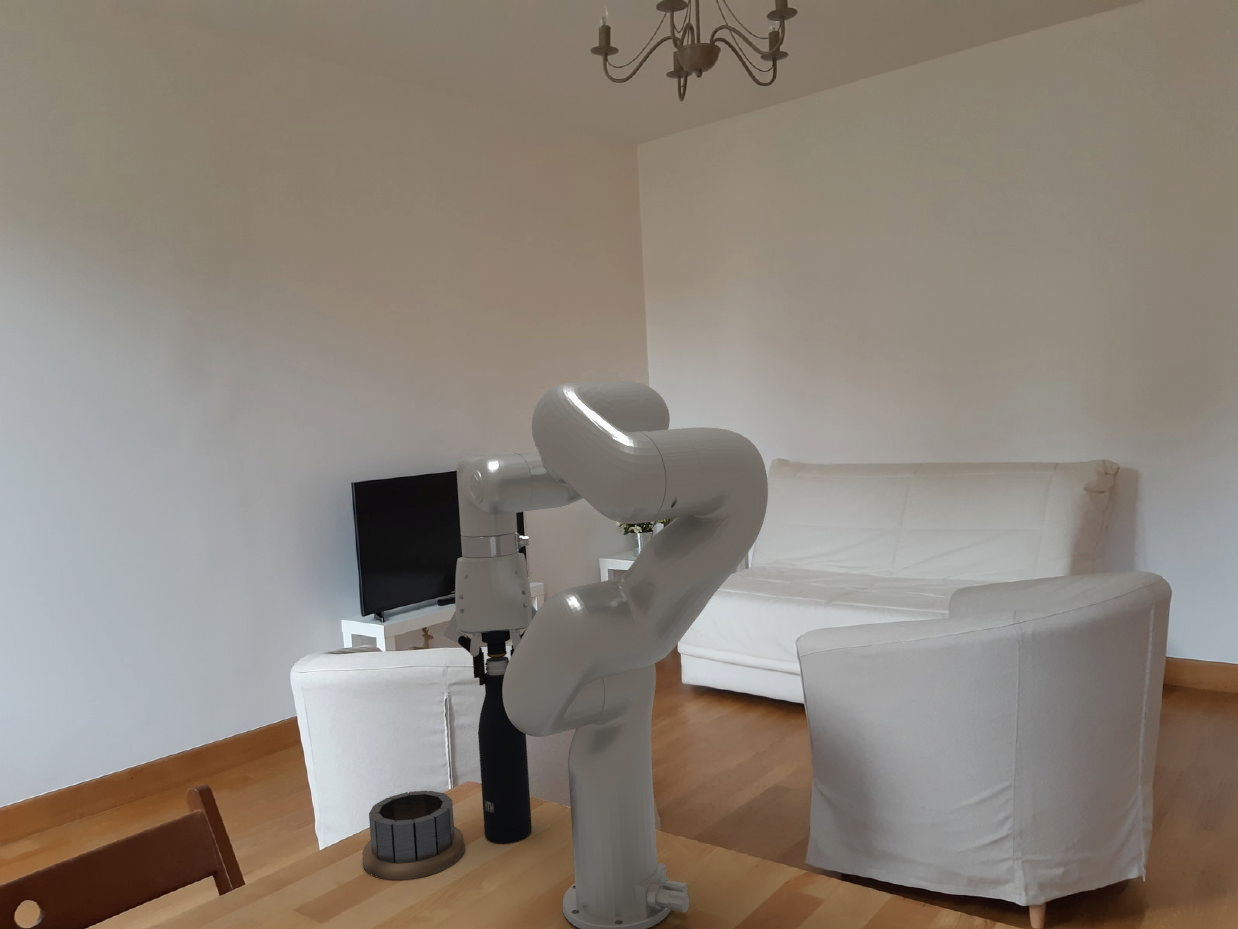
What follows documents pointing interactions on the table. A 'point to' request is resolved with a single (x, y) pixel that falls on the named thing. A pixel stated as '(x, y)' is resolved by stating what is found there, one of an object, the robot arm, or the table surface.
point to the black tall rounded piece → (502, 755)
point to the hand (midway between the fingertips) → (498, 679)
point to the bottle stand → (412, 836)
